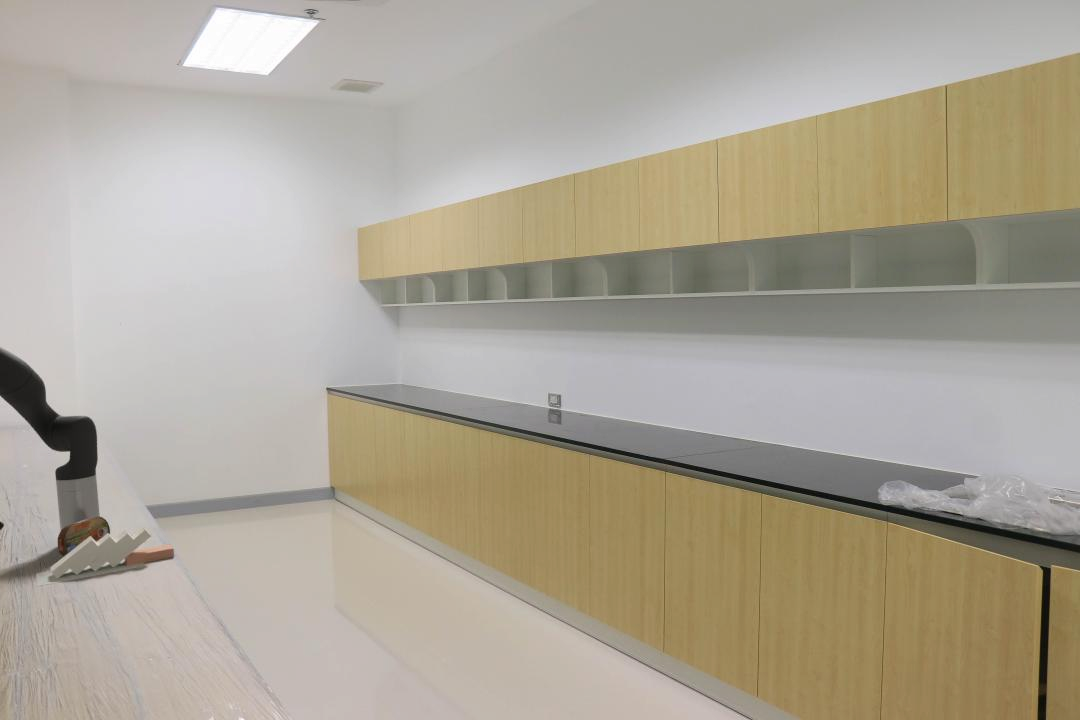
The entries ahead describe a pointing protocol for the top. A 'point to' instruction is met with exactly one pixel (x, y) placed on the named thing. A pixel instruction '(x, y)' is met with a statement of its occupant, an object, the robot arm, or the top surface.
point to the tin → (81, 533)
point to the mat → (83, 573)
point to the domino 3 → (112, 550)
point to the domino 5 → (149, 554)
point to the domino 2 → (94, 553)
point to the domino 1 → (73, 557)
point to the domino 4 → (130, 546)
